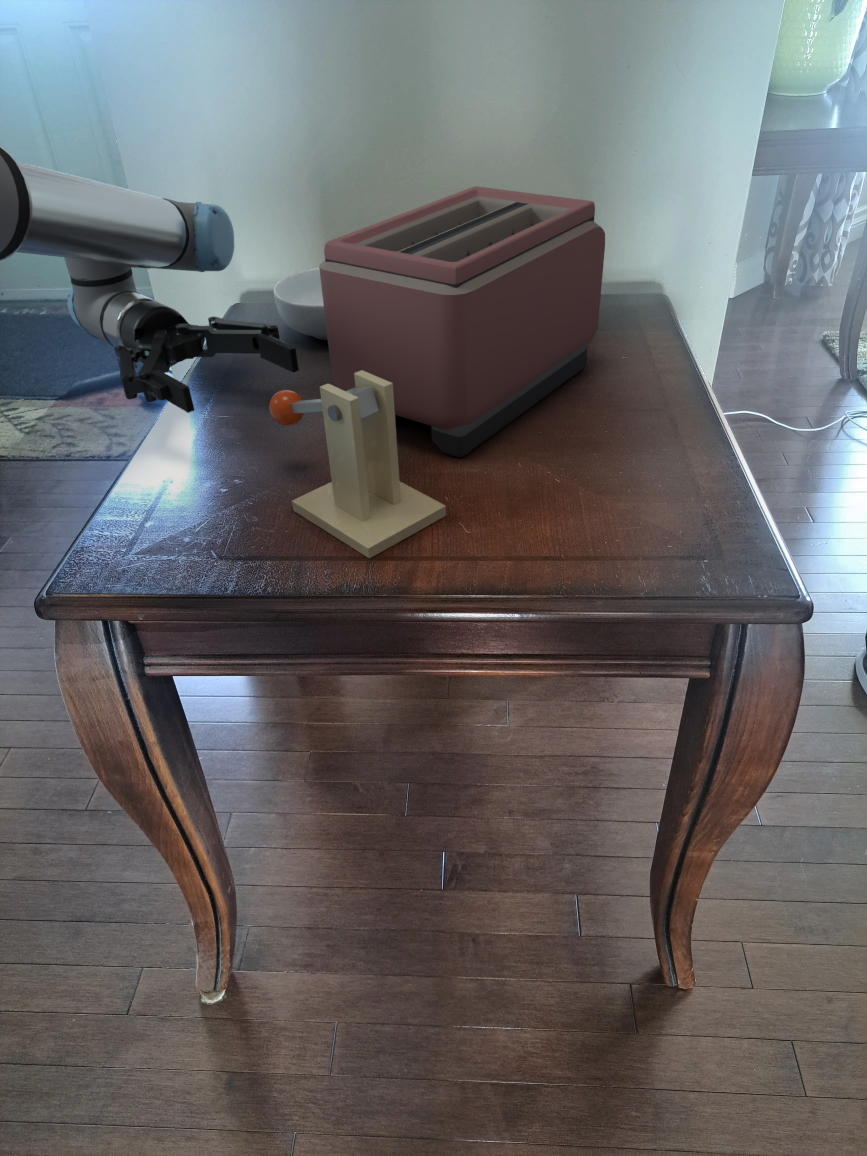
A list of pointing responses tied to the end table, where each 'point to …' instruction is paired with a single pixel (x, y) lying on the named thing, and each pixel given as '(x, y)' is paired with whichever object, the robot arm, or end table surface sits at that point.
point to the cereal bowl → (302, 303)
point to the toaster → (466, 307)
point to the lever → (315, 405)
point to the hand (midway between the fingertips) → (243, 379)
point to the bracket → (365, 475)
